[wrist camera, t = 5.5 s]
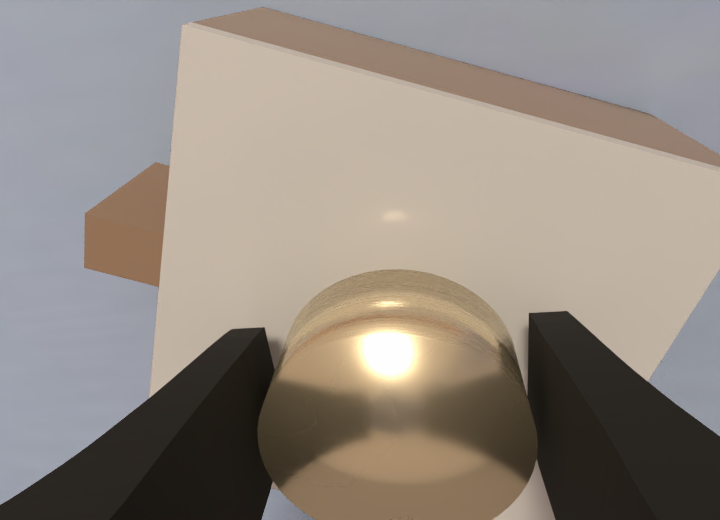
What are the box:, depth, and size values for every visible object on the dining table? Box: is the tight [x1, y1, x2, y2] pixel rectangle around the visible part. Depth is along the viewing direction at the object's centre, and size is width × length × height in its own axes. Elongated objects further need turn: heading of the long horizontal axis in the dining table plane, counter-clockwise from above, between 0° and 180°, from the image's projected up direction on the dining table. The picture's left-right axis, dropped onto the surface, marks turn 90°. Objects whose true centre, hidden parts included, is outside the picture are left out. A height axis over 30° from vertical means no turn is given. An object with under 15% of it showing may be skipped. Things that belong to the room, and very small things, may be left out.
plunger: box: [257, 269, 538, 520], centre depth 11 cm, size 4×4×6 cm
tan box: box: [84, 7, 720, 520], centre depth 12 cm, size 11×9×5 cm
